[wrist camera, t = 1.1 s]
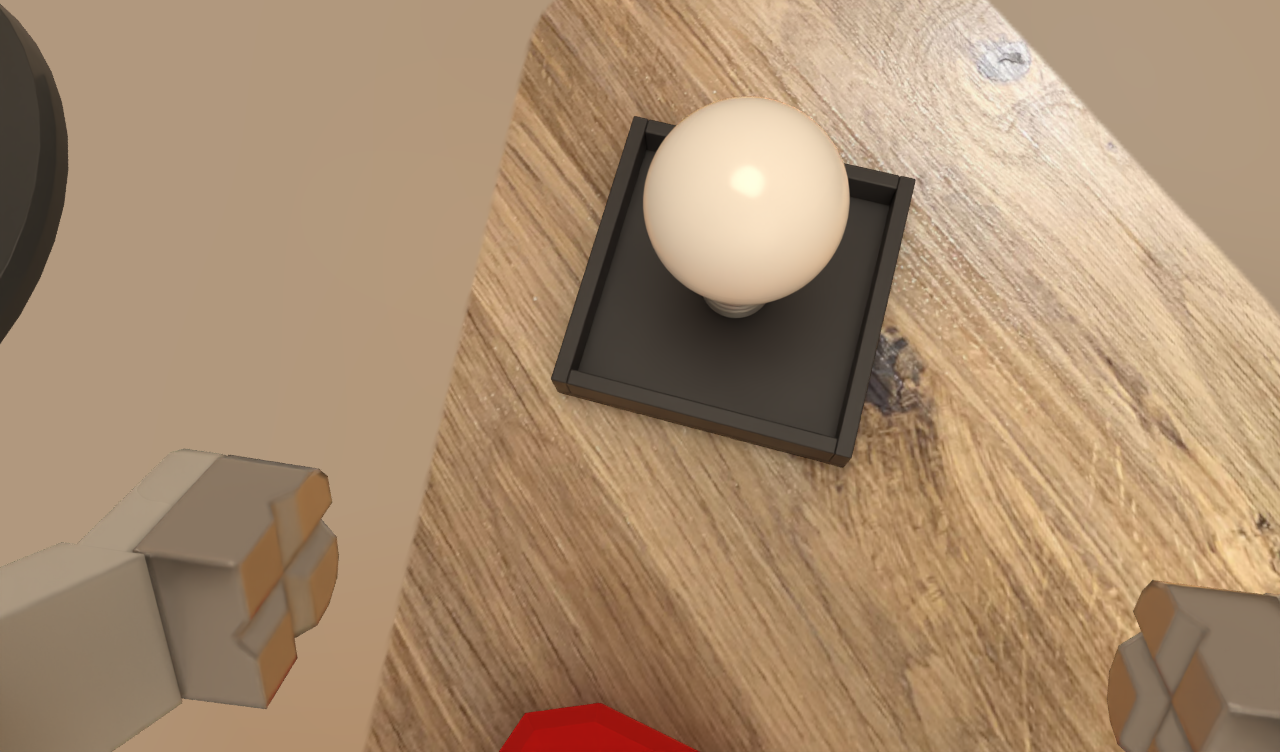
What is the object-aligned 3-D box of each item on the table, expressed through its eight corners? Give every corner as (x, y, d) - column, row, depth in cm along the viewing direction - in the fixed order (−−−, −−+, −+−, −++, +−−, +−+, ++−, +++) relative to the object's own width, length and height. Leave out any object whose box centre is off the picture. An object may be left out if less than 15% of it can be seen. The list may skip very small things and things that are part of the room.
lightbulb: (753, 402, 36) (778, 303, 26) (621, 307, 37) (591, 176, 27) (849, 274, 37) (911, 129, 27) (717, 187, 39) (725, 15, 28)
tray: (557, 392, 37) (550, 379, 35) (636, 139, 40) (633, 115, 38) (843, 467, 36) (851, 458, 34) (905, 200, 38) (916, 178, 37)
